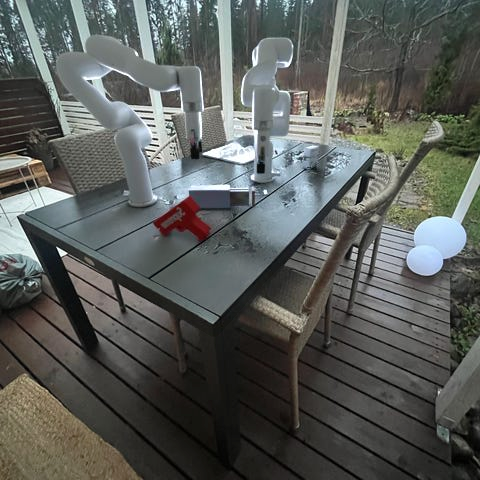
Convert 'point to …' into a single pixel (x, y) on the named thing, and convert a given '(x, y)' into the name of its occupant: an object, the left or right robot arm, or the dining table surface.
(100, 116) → the left robot arm
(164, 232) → the toy gun
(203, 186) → the cabinet
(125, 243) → the dining table surface
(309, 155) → the ink box
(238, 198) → the drawer
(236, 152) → the relief map
